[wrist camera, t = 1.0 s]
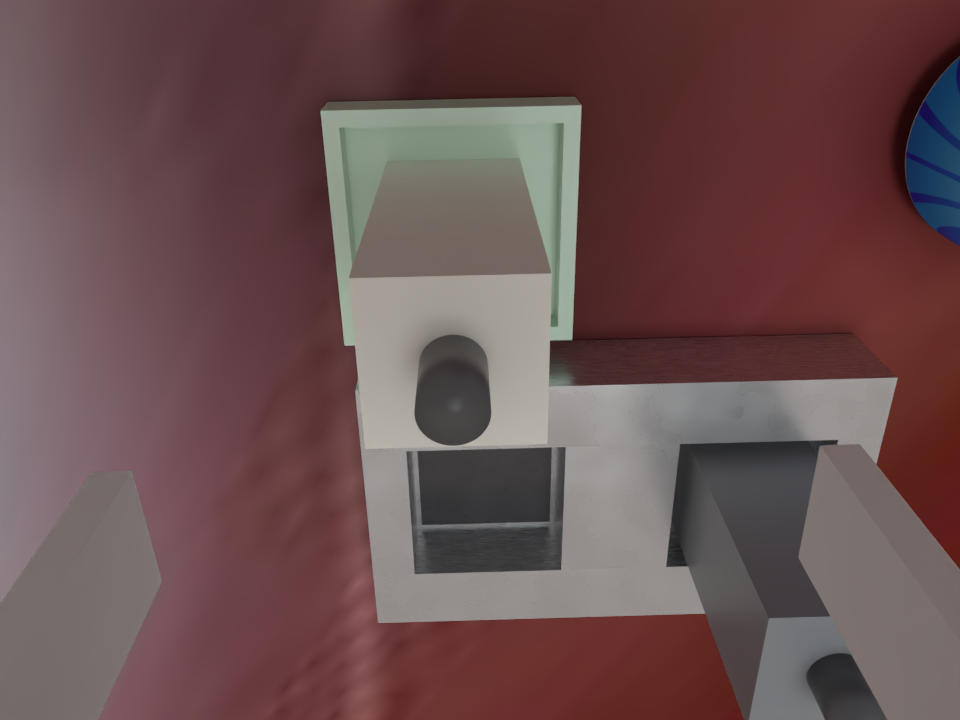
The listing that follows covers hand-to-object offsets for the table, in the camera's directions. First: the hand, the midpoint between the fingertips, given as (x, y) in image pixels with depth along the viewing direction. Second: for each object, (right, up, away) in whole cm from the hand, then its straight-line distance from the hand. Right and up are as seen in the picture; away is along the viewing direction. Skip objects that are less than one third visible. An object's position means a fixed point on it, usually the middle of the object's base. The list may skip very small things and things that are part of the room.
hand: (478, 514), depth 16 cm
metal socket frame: (+6, -1, +22) cm, 23 cm away
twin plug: (+11, -2, +21) cm, 24 cm away
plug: (-1, +8, +16) cm, 18 cm away
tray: (-1, +9, +17) cm, 19 cm away
